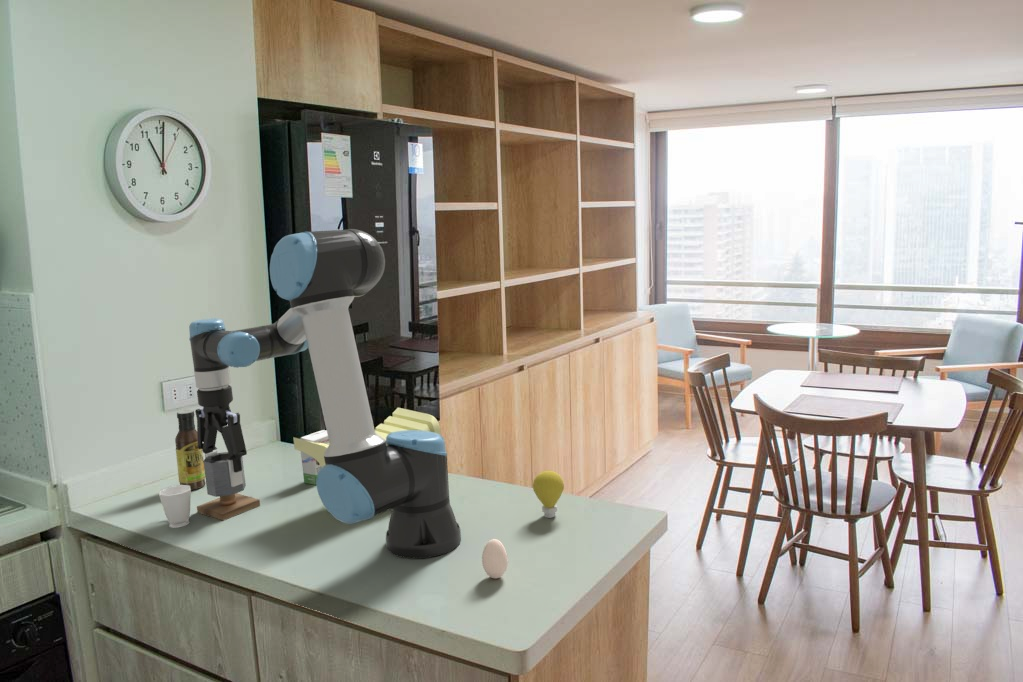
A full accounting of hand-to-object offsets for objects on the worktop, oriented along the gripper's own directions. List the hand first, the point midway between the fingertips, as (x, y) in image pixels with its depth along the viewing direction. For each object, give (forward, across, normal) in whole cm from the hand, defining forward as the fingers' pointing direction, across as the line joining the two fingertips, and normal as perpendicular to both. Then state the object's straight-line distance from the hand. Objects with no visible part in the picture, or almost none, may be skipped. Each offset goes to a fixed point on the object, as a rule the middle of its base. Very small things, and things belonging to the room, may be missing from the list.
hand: (225, 481), depth 186 cm
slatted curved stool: (+7, -27, -21) cm, 35 cm away
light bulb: (+7, -69, -32) cm, 76 cm away
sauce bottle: (+7, +22, -5) cm, 24 cm away
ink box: (+7, -4, -25) cm, 26 cm away
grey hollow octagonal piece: (+2, 0, 0) cm, 2 cm away
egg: (+7, -76, -3) cm, 76 cm away
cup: (+7, +4, +11) cm, 14 cm away
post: (+7, 0, 0) cm, 7 cm away
